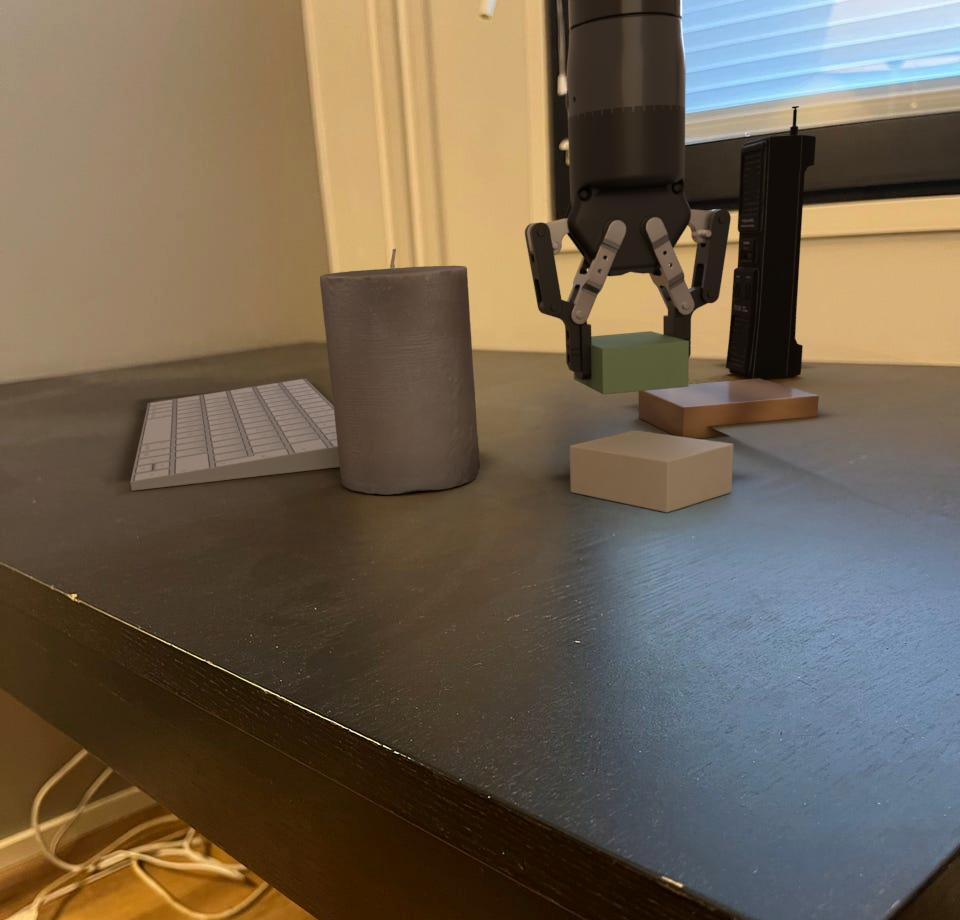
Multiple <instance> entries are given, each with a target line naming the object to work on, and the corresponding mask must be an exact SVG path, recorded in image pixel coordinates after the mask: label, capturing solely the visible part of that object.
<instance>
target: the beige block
mask: <svg viewBox="0 0 960 920" xmlns="http://www.w3.org/2000/svg"><path fill="white" fill-rule="evenodd" d="M733 464H734V444H733V443H731V442H730V443H729V442H722V441H715V440H707V439H702V438H700V439H694V438H687V437H679V436H674V435H672V434H665V433H657V432H650V431H642V430H630V431H625V432H622V433H617V434H614V435H609V436H603V437H601V438H600V437H599V438H597V439H592V440H587V441H583V442H580V443H576V444H571V445H569V476H570V477H569V478H570V479H569V481H570V484H569V485H570V493H572V494H577V495H582V496H587V497H592V498H596V499H601V500H606V501H610V502H614V503H615V502H616V503H620V504H624V505H629V506H634V507H639V508H644V509H649V510H652V511H657V512H662V513H670V512H673V511H677V510H679V509H680V510H681V509H682V508H686V507H689V506H692V505H696V504H699V503H702V502H705V501H709V500H711V499H715V498H717V497H720V496H721V497H722V496H724V495H728V494H730V493H732V491H733V490H732V488H733V486H732V485H733Z"/></svg>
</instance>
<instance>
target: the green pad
mask: <svg viewBox="0 0 960 920" xmlns="http://www.w3.org/2000/svg"><path fill="white" fill-rule="evenodd" d="M591 341H592V345H591V379H588V380H580V379H578V378H577V377H576V375H575V372H573V380H574V381H576V382H578V383H580V384H582V385H584V386H586V387H588V388H590V389H592V390H594V391H595V392H598V393H600V394H601V395H614V394H625V393H635V392H639V391H647V390H657V389H668V388H678V387H688V384H689V363H690V361H689V359H690V357H689V341H686V340H683V339H679V338H675V337H671V336H667V335H663V333H659V332H655V331H651V330H649V331H638V332H637V331H636V332H627V333H626V332H625V333H615V334H604V335H603V334H601V335H591Z"/></svg>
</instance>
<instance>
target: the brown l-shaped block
mask: <svg viewBox="0 0 960 920" xmlns="http://www.w3.org/2000/svg"><path fill="white" fill-rule="evenodd" d="M819 397H820V396H819V395H818V394H815V393H812V392H808V391H805V390H801V389H798V388H795V387H790V386H787V385H784V384H781V383H780V384H779V383H776V382H773V381H770V380H767V379H759V378H757V379H747V378H745V379H735V380H723V381H712V382H711V381H710V382H699V383H690V384H689V383H688V387H678V388H668V389H657V390H647V391H638V419H641V420H642V421H645V422H647V423H649V424H650V425H653V426H655V427H657V428H659V429H660V430H662V431H664V432H666V433H668V434H669V435H672V436H679V437H687V438H694V439H709V438H721V437H730V435H729V434H727V433H725V432H723V431H720V430H718V429H716V428H713V426H723V425H734V424H743V423H744V424H746V423H756V422H767V421H778V420H788V419H800V418H810V417H818V413H819V401H820V400H819V399H820V398H819Z"/></svg>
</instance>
